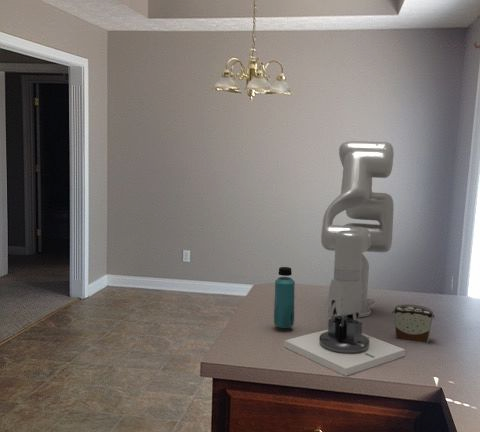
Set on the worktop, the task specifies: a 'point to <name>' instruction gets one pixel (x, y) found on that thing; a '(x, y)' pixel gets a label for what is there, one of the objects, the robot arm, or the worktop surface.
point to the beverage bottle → (284, 299)
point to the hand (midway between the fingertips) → (344, 336)
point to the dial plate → (343, 361)
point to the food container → (412, 323)
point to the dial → (352, 340)
